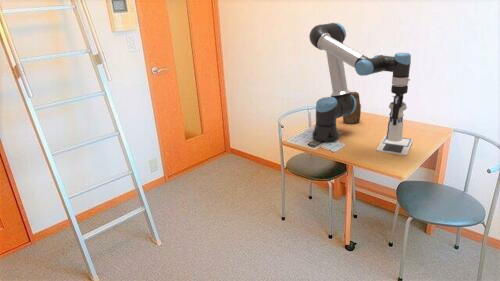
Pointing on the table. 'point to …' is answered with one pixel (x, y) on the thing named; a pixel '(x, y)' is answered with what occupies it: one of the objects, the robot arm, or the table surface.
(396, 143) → the stamp station
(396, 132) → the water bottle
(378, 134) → the table surface
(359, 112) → the block
